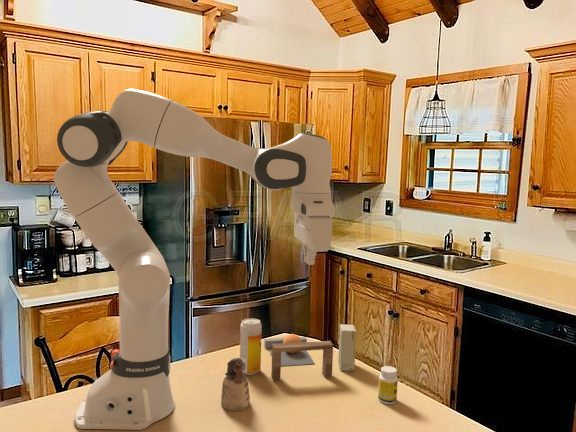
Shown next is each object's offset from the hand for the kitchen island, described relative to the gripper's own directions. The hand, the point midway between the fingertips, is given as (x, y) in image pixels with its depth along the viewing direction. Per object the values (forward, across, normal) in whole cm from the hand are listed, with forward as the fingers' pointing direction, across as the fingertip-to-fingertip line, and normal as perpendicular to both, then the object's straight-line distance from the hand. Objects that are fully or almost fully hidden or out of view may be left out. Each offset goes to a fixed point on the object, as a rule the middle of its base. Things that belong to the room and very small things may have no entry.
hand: (309, 263), depth 110 cm
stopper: (+37, -42, +4) cm, 56 cm away
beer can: (+37, -25, -10) cm, 46 cm away
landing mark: (+37, -33, +4) cm, 50 cm away
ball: (+34, -36, +5) cm, 50 cm away
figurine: (+37, -7, -16) cm, 41 cm away
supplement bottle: (+37, -3, +23) cm, 44 cm away
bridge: (+37, -19, +4) cm, 42 cm away
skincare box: (+37, -24, +19) cm, 48 cm away
